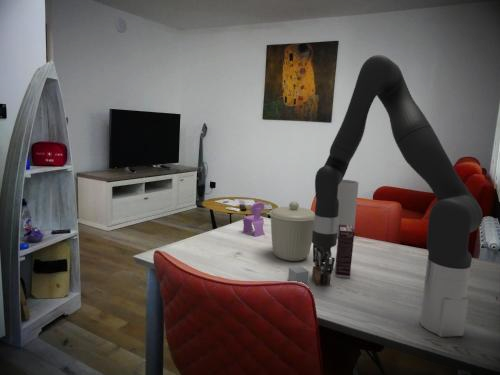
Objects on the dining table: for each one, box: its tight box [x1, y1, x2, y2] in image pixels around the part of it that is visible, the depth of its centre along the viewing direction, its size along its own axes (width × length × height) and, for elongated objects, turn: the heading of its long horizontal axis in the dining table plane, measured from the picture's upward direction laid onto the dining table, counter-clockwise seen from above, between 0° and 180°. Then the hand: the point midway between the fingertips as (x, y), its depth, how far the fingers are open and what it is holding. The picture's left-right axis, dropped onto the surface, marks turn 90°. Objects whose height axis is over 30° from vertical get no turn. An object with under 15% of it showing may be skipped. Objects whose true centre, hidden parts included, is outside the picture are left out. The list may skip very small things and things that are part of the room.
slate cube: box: [287, 265, 310, 286], centre depth 113 cm, size 4×4×4 cm
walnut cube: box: [311, 265, 332, 287], centre depth 114 cm, size 4×4×4 cm
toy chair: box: [242, 201, 266, 238], centre depth 162 cm, size 8×9×15 cm
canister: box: [268, 201, 315, 262], centre depth 134 cm, size 18×18×21 cm
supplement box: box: [334, 224, 356, 279], centre depth 121 cm, size 9×5×16 cm, turn 168°
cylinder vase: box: [337, 179, 359, 239], centre depth 164 cm, size 12×12×25 cm
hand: (320, 281), depth 114 cm, fingers closed on walnut cube, 4 cm apart
